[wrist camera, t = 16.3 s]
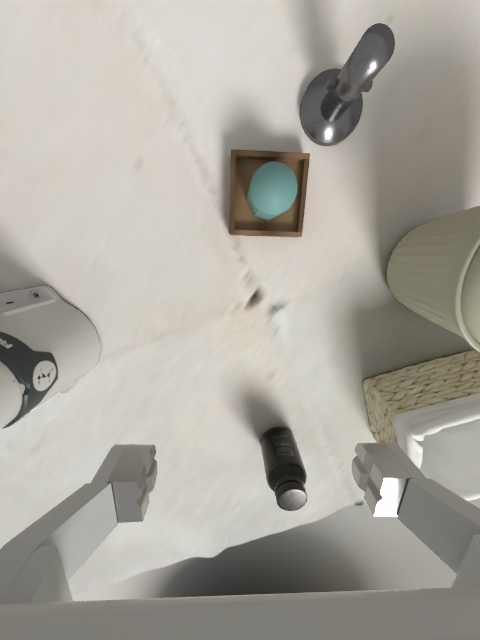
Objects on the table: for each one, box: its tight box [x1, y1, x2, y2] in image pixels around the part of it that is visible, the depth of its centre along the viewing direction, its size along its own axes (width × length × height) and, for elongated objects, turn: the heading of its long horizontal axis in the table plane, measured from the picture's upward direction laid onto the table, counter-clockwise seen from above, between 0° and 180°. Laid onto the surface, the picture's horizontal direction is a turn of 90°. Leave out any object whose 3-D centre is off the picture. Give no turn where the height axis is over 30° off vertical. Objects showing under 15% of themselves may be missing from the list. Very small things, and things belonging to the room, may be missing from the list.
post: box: [300, 23, 395, 146], centre depth 27 cm, size 8×8×11 cm
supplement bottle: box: [261, 428, 307, 511], centre depth 43 cm, size 7×7×12 cm
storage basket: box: [363, 350, 480, 501], centre depth 39 cm, size 24×16×15 cm
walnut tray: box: [230, 150, 310, 237], centre depth 34 cm, size 10×10×2 cm
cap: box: [246, 162, 297, 220], centre depth 32 cm, size 6×6×5 cm
